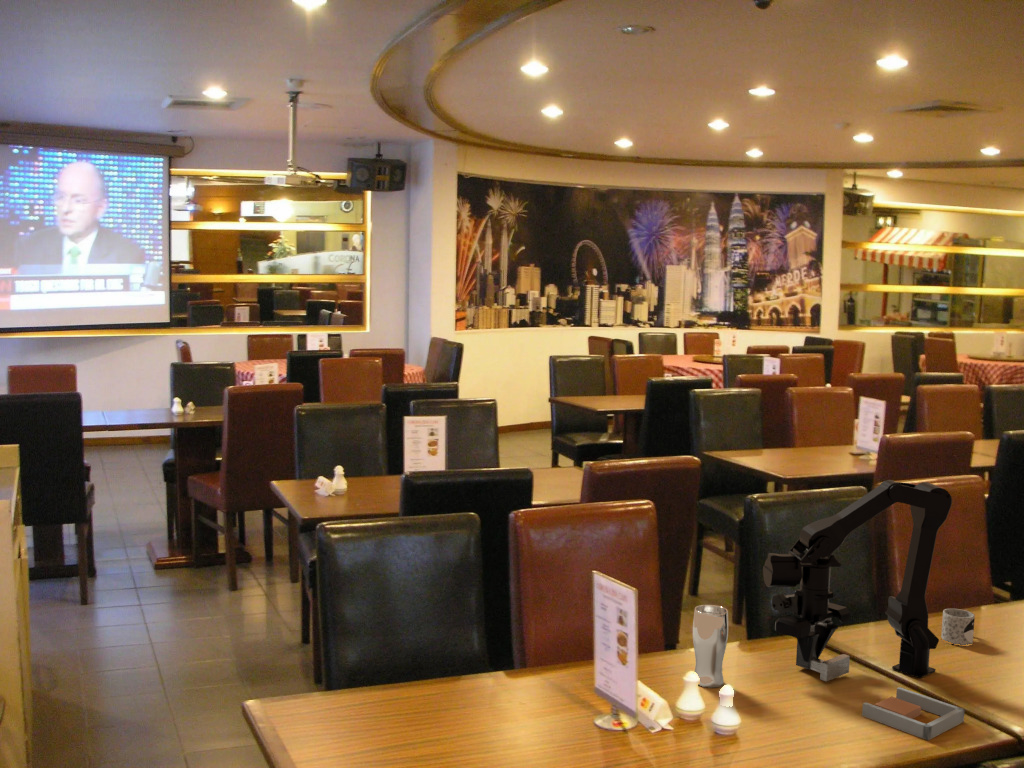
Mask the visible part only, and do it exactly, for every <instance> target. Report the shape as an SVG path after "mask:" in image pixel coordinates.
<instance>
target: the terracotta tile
mask: <svg viewBox="0 0 1024 768" xmlns="http://www.w3.org/2000/svg"><path fill="white" fill-rule="evenodd" d="M874 705H875V706H878V707H881V708H883V709H886V710H889V711H892V712H894V713H897V714H900V715H903V716H905V717H908V718H911V719H915V718H917V717H919V716H921V714H922V712H921V711H922V709H921V706H918V705H915V704H912V703H909V702H906V701H903V700H901V699H898V698H896V697H894V696H889V697H888V698H885V699H883V700H881V701H879V702H876V703H874Z"/></svg>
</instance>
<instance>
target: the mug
mask: <svg viewBox="0 0 1024 768" xmlns="http://www.w3.org/2000/svg"><path fill="white" fill-rule="evenodd" d="M975 616H976V615H975V613H973V612H971V611H969V610H965V609H960V608H945V609H943V610H942V621H941V622H942V623H941V635H940V636H941V637H940V639H941V638H942V639H943V640H945V641H948V642H951V643H953V644H960V645H966V644H967V645H968V644H972V643H973V644H974V632H975V618H976V617H975Z"/></svg>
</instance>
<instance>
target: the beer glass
mask: <svg viewBox="0 0 1024 768" xmlns="http://www.w3.org/2000/svg"><path fill="white" fill-rule="evenodd" d="M728 638H729V611H728V609H727V608H726V607H723V606H720V605H717V604H716V605H714V604H700V605H696V606H695V607H694V613H693V623H692V641H693V643H692V644H693V650H694V656H695V657H694V659H695V667H694V672H696V673H697V674H698V676H699V678H700V684H699V685H700V686H699V687H701V686H702V688H706V687H708V688H709V689H717V688H720V687H722V686H723V685H724V684H725V682H724V676H723V662H724V657H725V654H726V648H727V644H728ZM708 688H707V689H708Z"/></svg>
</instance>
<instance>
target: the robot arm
mask: <svg viewBox="0 0 1024 768" xmlns="http://www.w3.org/2000/svg"><path fill="white" fill-rule="evenodd" d="M896 503H901V504H904V505H909V506H910V507H909V508H910V510H909V511H910V513H911V519H912V523H913V524H912V531H911V536H910V543H909V546H908V553H907V558H906V562H905V568H904V574H903V579H902V583H901V584H902V585H901V588H900V591H899V592H898V593H897V595H896V596H892V595H890V596H888V599H887V600H888V601H887V602H888V603H887V604H888V605H887V609H886V611H885V612H884V613H885V615H887V622H888V623H889V625H890V626H891V628H892V629H893V630H894V632H895V635H896V636H897V637H899V638H900V646H899V647H900V648H899V661H898V663H897V664H895V665H892V666H891V667H892V668H891V669H892V670H894V671H898V672H901V673H903V674H906V675H909V676H912V677H916V678H919V679H921V678H924V677H926V676H929V675H930V674H933V673H935V672H936V668H934V667H931V666H930V654H931V653H930V652H931V651H930V650H936V648H937V646H938V644H939V642H940V639H939V638H938V637H937V636H936V635H935V633H933V631H932V630H931V629H930V628H929V611H928V610H929V609H928V604H927V601H926V593H927V588H928V583H929V578H930V573H931V568H932V562H933V561H932V560H933V558H934V557H933V556H934V551H935V546H936V542H937V535H938V533H939V529H940V528H941V527H942V526H943V524H945V522H946V520H947V519H948V515H949V514H950V510H951V508H952V504H953V498H952V495H951V494H950V493H949V491H948V490H946V488H943V487H940V486H938V485H936V484H933V483H931V482H927V481H923V482H920V483H918V484H914V483H908V482H901V481H895V480H892V479H886V480H884V481H882V482H881V483H880V484H879V485H878V486H877V487H875V488H874V489H872V490H871V491H869V492H867V493H866V494H864V495H863V496H861V497H860V498H859V499H857V500H855V501H854V502H852V503H851V504H850V505H847V506H846V507H844V508H843V509H842V510H841V511H839V512H838V513H836V514H834V515H832V516H828V517H824V518H820V519H818V520H816V521H813V522H811V523H809V524H806V525H805V526H803V528H802V529H801V530H800V532H799V533H800V534H799V538H798V539H797V540H796V541H795V542H794V544H793V545H792V546H791V547H790V549H788V551H787V553H775V552H768V554H767V558H766V559H765V562H764V565H763V566H762V567H763V568H762V575H763V581H764V584H765V585H766V587H767V588H796V586H797V585H800V588H799V589H798V588H797V589H795V590H794V593H793V594H791V593H790V594H786V595H785V594H784V593H782V592H781V593H779V594H778V593H776V594H773V595H772V598H771V607H772V609H773V610H774V611H777V614H782V613H786V612H787V613H788V612H792V613H791V615H790V614H788V615H783V616H781V617H778V619H776V620H775V621H774V622H775V623H774V631H775V632H777V633H781V634H784V635H785V636H786V635H787V636H789V637H792V638H796V641H797V640H798V643H799V646H800V649H801V653H802V656H803V659H804V661H806V662H809V661H810V659H811V656H812V653H813V650H814V648H815V645H816V642H817V639H818V651H817V658H819V659H820V657H821V656H822V655H821V654H822V653H823V651H824V649H825V648H826V645H827V644H828V642H829V641H830V639H831V638H832V636H833V635H834V633H835V631H836V630H837V629H838V628H839V626H838V625H837V624H833V620H832V619H833V618H837V619H838V622H839V623H840V624H845V623H848V622H850V621H851V611H850V610H849V608H848V607H847V606H843V605H839V604H836V603H833V602H830V600H829V599H831V598H834V592H832V591H830V586H831V585H830V582H831V568H840V567H841V566H842V564H841V562H839V561H838V560H837V558H836V556H835V555H834V554H833V553H834V552H836V550H838V548H840V547H841V546H842V545H843V543H844V541H845V540H846V539H847V537H848V536H849V535H850V534H851V533H852V532H854V531H855V530H857V529H858V528H860V527H862V526H863V525H864V524H866V523H867V522H869V521H871V520H872V519H874V518H875V517H876V516H879V514H881V513H882V512H884V511H885V510H887V509H888V508H890V507H891V506H893V505H894V504H896ZM805 551H806V552H805ZM794 615H795V616H794ZM797 616H800V617H797Z"/></svg>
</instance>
